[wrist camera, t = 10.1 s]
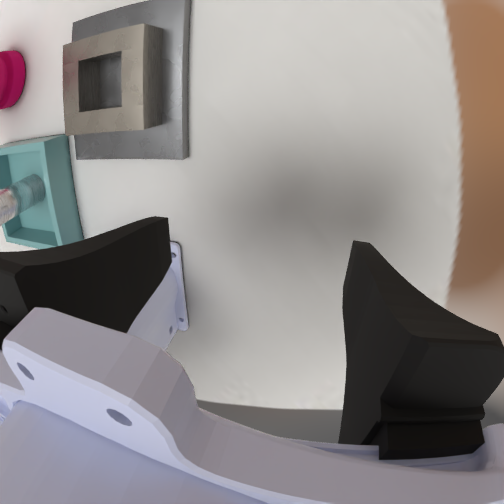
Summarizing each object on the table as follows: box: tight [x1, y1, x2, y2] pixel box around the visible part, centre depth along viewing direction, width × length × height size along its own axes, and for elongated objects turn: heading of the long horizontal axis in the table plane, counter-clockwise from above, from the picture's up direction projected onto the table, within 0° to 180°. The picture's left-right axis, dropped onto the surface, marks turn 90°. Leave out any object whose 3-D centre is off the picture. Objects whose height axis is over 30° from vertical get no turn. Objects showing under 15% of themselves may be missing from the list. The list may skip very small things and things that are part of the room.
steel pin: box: [0, 174, 45, 226], centre depth 21 cm, size 3×3×8 cm
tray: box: [0, 134, 84, 249], centre depth 24 cm, size 10×10×3 cm
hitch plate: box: [63, 0, 191, 160], centre depth 18 cm, size 12×10×4 cm
